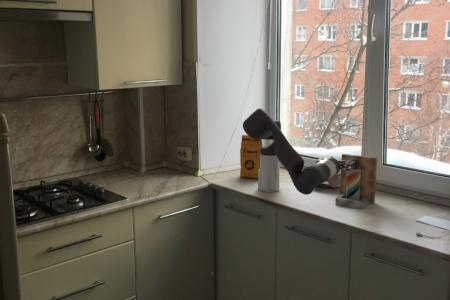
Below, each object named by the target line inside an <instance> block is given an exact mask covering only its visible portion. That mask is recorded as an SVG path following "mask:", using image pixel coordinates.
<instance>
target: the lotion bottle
mask: <svg viewBox="0 0 450 300" xmlns="http://www.w3.org/2000/svg"><path fill="white" fill-rule="evenodd" d="M351 159H353V160H354V161H355V168H354V169H352V170H350V171H347V181H346V199H351V200H357V201H359V197H360V175H361V170H360V169H358V168H359V160H358V159H356V158H351Z"/></svg>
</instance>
